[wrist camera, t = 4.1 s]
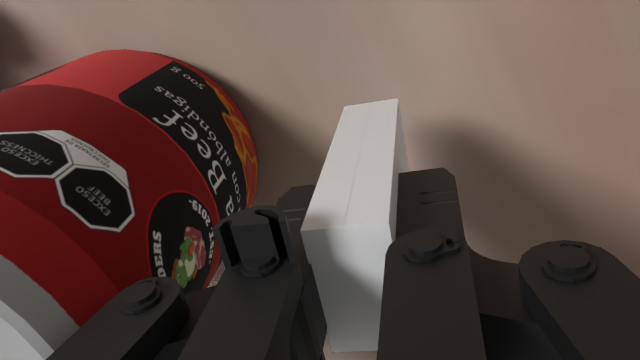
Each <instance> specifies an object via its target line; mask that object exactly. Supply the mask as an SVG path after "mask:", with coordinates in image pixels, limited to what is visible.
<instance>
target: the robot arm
mask: <svg viewBox="0 0 640 360" xmlns="http://www.w3.org/2000/svg"><path fill="white" fill-rule="evenodd" d="M212 230H213V233H214V235H215V238H216V241H217V244H218V247H219V250H220V253H221V256H222V259H223V262H224V265H225V268H226V269H225V271H224V273H223V274H222V276H221V278H220V280H219V282H218V284H217V285H215V286H212V287H209V288H206V289H202V290H199V291H195V292H192V293H188V294H185V295H184V294H183V292H182V289H181V286H180V284H179V283H178V282H177V281H176V279H173V278H170V277H166V276H164V277H151V278H146V279H143V280H140V281H137V282H136V283H135V284H133V285H131V286H129V287H127V288H125V289H124V290H122V291H121V292H120V293H118V294H117V295H116V296H114V297H113V298H112V299H111V300H110V301H109V302H108V303H107V304H105V305H104V306H103V307H102V308H101V309H100V310H99V311H98V312H97V313H96V314H95V315H93V316H92V317H91V318H90V319H89V320H88V321H87V322H86V323H85V324H84V325H83V326H82V327H80V328H79V329H78V330H77V331H76V332H75V333H74V334H73V335H72V336H71V337H70V338H68V339H67V340H66V341H65V342H64V343H63V344H62V345H61V346H60V347H59V348H58V349H56V350H55V351H54V352H53V353H52V354H51V355H50V356H49V357H48V358H47V359H46V360H325V356H324V353H323V346H324V341H325V336H326V332H327V336H328V340H329V344H330V347H331V351H332V353H338V352H362V351H377V360H640V279H639V278H638V277H637V276H636V275H635V274H634V273H632V272H631V271H630V270H629V269H628V268H627V267H626V266H625V265H624V264H623V263H621V262H620V261H619V260H618V259H617V258H616V257H615V256H613V255H612V254H610V253H609V252H607V251H605V250H604V249H602V248H600V247H597V246H594V245H591V244H587V243H584V242H577V241H565V240H563V241H554V242H546V243H543V244H540V245H537V246H535V247H532V248H531V249H529V250H528V251H527V252H526V253H524V254H523V255H522V257H521V260H520V263H519V264H514V263H506V262H500V261H495V260H491V259H489V258H486V257H483V256H481V255H479V254H478V253H476V252H474V251H473V250H472V249H471V248H470V247H469V246H468V245H467V242H466V240H465V236H464V230H463V224H462V218H461V212H460V206H459V200H458V194H457V188H456V182H455V177H454V176H453V175H452V174H451V173H449V172H448V171H447V170H446V169H444V168H436V169H428V170H420V171H412V172H409V167H408V161H407V154H406V147H405V141H404V134H403V128H402V121H401V114H400V108H399V101H398V98H397V99H390V100H384V101H377V102H371V103H364V104H358V105H351V106H345V107H344V109H343V112H342V115H341V118H340V121H339V123H338V126H337V129H336V132H335V135H334V138H333V140H332V143H331V146H330V149H329V152H328V154H327V157H326V160H325V163H324V166H323V168H322V171H321V174H320V177H319V180H318V182H317V185H309V186H300V187H292V188H291V189H290V190H289V191H288V192H287V193H285V194H284V195H283V196H282V197H281V198H280V199H279V200H278V203H277V205H276V207H274V206H256V207H251V208H246V209H243V210H240V211H238V212H235V213H232V214H230V215H229V216H227V217H225V218H224V219H222V220H221V221H219V222H218V223H217V224H216V225H215V227H214V228H213V229H212Z"/></svg>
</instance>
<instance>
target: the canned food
mask: <svg viewBox="0 0 640 360" xmlns="http://www.w3.org/2000/svg"><path fill="white" fill-rule="evenodd" d="M257 175H258V164H257V154H256V149H255V144H254V139H253V136H252V134H251V131H250V129H249V126H248V124H247V121H246V119H245V118H244V116H243V115H242V113H241V111H240V110H239V108H238V107H237V105H236V104H235V102H234V101H233V100H232V99H231V98H230V97H229V95H228V94H227V93H226V92H225V91H224V90H223V89H222V88H221V87H220V86H219V85H218V84H217V83H216V82H214V81H213V80H212V79H210V78H209V77H208V76H206V75H205V74H204V73H203V72H201V71H199V70H198V69H196V68H194V67H192V66H190V65H188V64H186V63H184V62H182V61H180V60H177V59H174V58H171V57H168V56H165V55H162V54H158V53H150V52H142V51H134V50H126V49H124V50H110V51H101V52H98V53H95V54H91V55H88V56H85V57H82V58H79V59H77V60H74V61H72V62H70V63H67V64H65V65H62V66H60V67H57V68H55V69H53V70H50V71H48V72H45V73H43V74H40V75H38V76H36V77H33V78H31V79H28V80H26V81H23V82H21V83H19V84H16V85H14V86H11V87H9V88H7V89H4V90H2V91H0V360H46V359H47V358H48V357H49V356H50V355H51V354H52V353H53V352H54V351H55V350H56V349H58V348H59V347H60V346H61V345H62V344H63V343H64V342H65V341H66V340H67V339H68V338H70V337H71V336H72V335H73V334H74V333H75V332H76V331H77V330H78V329H79V328H80V327H82V326H83V325H84V324H85V323H86V322H87V321H88V320H89V319H90V318H91V317H92V316H93V315H95V314H96V313H97V312H98V311H99V310H100V309H101V308H102V307H103V306H104V305H105V304H107V303H108V302H109V301H110V300H111V299H112V298H113V297H114V296H116V295H117V294H118V293H120V292H121V291H122V290H124V289H125V288H127V287H129V286H131V285H133V284H135V283H136V282H137V281H140V280H143V279H146V278H151V277H164V276H166V277H170V278H173V279H176V281H177V282H178V283H179V284H180V286H181V289H182V292H183V294H184V295H185V294H188V293H192V292H195V291H199V290H202V289H206V288H207V287H208V285H209V283H210V281H211V279H212V278H213V276H214V274H215V272H216V270H217V268H218V267H219V265H220V263H221V261H222V256H221V253H220V250H219V247H218V244H217V241H216V238H215V235H214V233H213V230H212V229H213V228H214V227H215V225H216V224H217V223H218V222H219V221H221V220H222V219H224V218H225V217H227V216H229V215H230V214H232V213H235V212H238V211H240V210H243V209H246V208H251V206H252V204H253V201H254V197H255V193H256V189H257Z"/></svg>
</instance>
